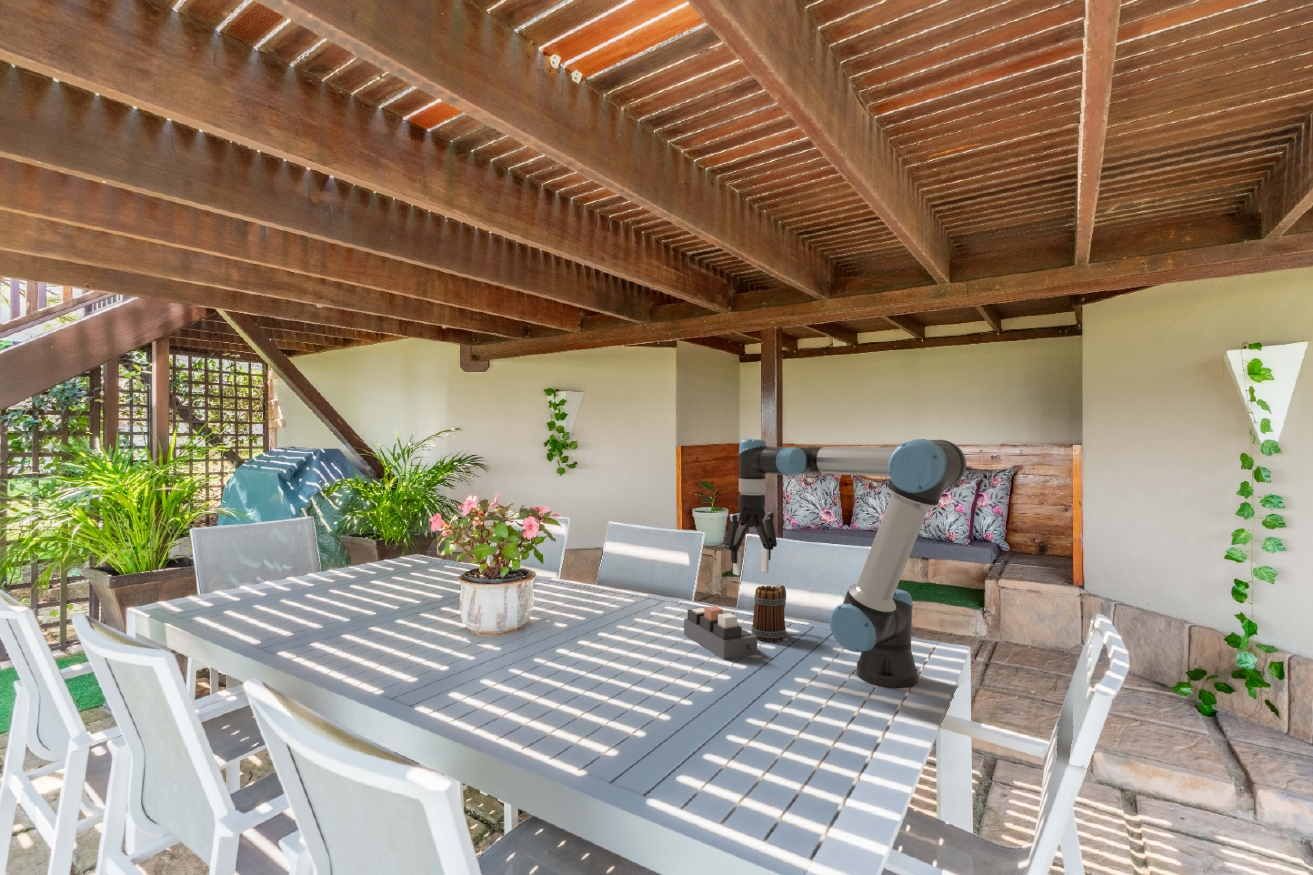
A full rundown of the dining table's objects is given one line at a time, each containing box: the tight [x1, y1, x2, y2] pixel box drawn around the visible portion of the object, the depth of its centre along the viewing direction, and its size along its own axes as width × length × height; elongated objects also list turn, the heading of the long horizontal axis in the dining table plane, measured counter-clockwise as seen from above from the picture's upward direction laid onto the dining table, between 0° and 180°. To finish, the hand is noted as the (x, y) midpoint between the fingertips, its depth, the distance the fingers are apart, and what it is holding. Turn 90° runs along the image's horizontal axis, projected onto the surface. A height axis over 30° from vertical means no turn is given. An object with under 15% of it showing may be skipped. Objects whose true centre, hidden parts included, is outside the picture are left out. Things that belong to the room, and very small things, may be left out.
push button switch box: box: [683, 608, 762, 660], centre depth 192 cm, size 30×11×8 cm, turn 25°
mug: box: [751, 584, 787, 643], centre depth 204 cm, size 16×11×15 cm
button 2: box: [703, 606, 724, 621], centre depth 194 cm, size 4×4×3 cm
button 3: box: [691, 607, 705, 614], centre depth 201 cm, size 4×4×3 cm
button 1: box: [718, 612, 738, 628], centre depth 187 cm, size 4×4×3 cm
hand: (750, 573), depth 185 cm, fingers open, 9 cm apart
